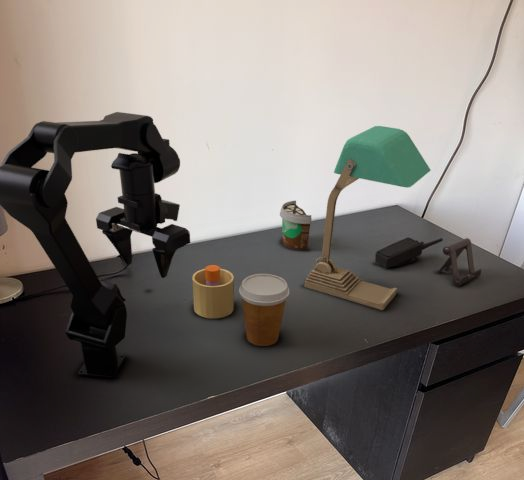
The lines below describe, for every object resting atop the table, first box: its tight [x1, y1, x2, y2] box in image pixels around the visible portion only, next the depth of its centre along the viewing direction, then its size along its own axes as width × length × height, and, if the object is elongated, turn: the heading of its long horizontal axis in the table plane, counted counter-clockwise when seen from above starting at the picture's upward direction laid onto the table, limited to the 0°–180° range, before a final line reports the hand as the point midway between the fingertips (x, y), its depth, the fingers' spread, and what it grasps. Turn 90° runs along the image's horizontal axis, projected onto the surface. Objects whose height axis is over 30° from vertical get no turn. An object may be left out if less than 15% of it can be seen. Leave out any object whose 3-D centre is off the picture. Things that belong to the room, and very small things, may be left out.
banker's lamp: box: [304, 125, 431, 311], centre depth 112 cm, size 16×21×35 cm
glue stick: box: [204, 264, 221, 286], centre depth 111 cm, size 3×3×9 cm
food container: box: [279, 200, 312, 251], centre depth 140 cm, size 12×6×10 cm, turn 17°
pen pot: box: [191, 268, 235, 319], centre depth 112 cm, size 9×9×8 cm
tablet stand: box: [437, 237, 482, 287], centre depth 128 cm, size 9×8×8 cm
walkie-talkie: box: [374, 237, 444, 269], centre depth 136 cm, size 6×6×20 cm
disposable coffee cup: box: [238, 273, 290, 347], centre depth 102 cm, size 10×10×12 cm
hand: (146, 270), depth 102 cm, fingers open, 9 cm apart
